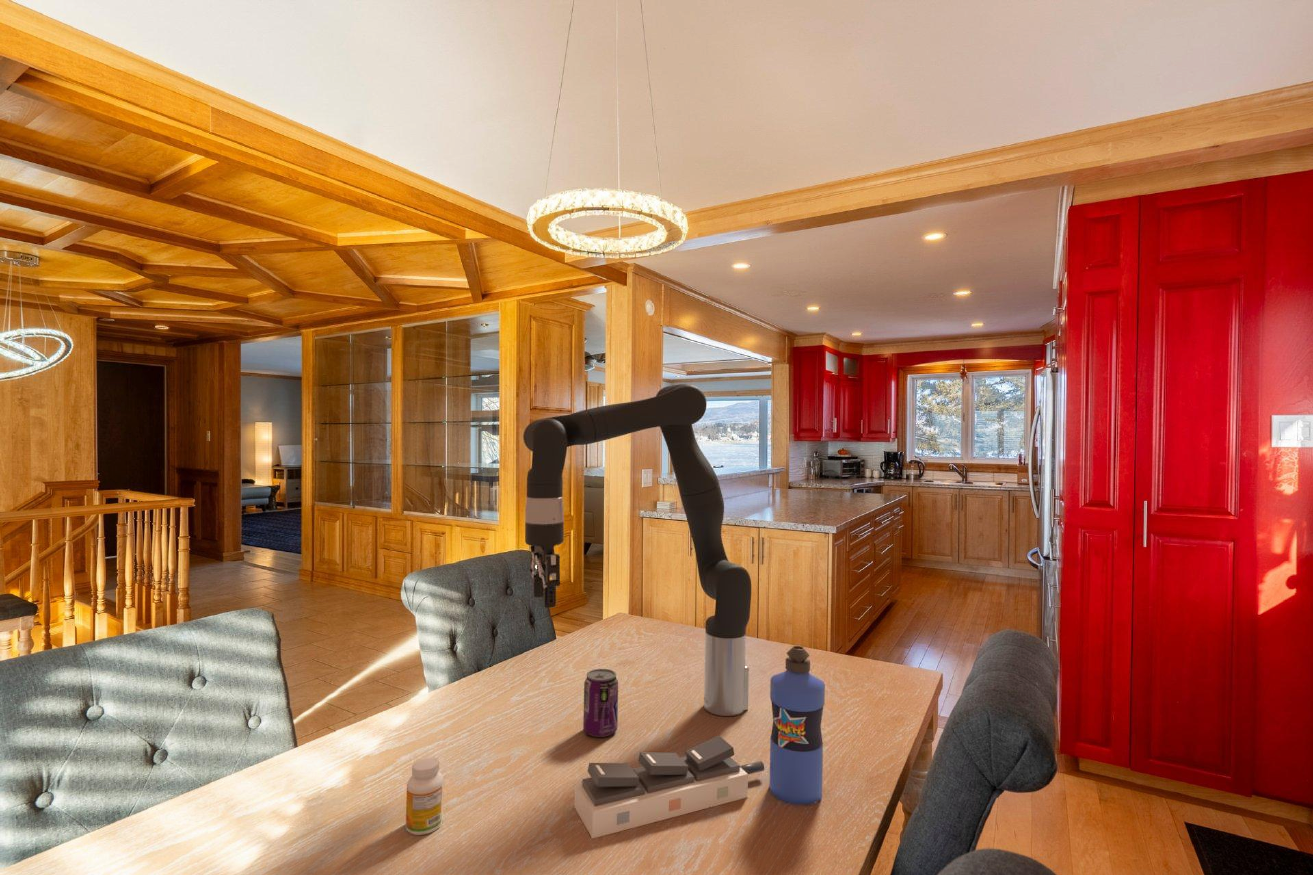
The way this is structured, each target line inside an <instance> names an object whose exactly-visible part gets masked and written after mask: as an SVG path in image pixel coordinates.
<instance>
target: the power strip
mask: <svg viewBox="0 0 1313 875" xmlns="http://www.w3.org/2000/svg"><path fill="white" fill-rule="evenodd" d="M680 758H681V759H682V760H683V761H684V762H685V763H686V764H687V765H688V766H689V767H688V772H687V775H650V774H649V773H648V772H647V771H646V769H645V768H644V767H643V766H642V765H641V766H635V767H632V769H633V770H634V771H635V773H636V774H637V775H638V777H639V781H638V786H604V787H597V785H596V784H595V782H594V781H593V779H592V778H591V777H588V778H587V777H586V778H583V779H582V780H580V781H576V782H574V809H575V810H576V813H577V814H578V815H579V817H580V819H581V821H582V824H583V825H584V827H585V828H586V830H587V832H588V833H589V835H590V837H591V839H597V838H600V837H604V836H608V835H612V834H614V833H619V832H623V831H626V830H630V829H634V828H638V827H641V826H646V825H649V824H653V823H655V822H660V821H664V820H667V819H671V818H675V817H679V816H683V815H686V814H690V813H694V812H698V811H701V810H704V809H705V810H707V809H709V807H710V808H713V807H716V806H720V805H724V804H729V803H731V802H735V801H736V802H737V801H740V800H744V799H748V796H749V795H748V793H749V792H748V791H749V790H748V788H749V786H748V785H749V775H753V774H755V773H756V774H757V773H760V772H763V771H765V765H764V762H763V761H762V760H760V761H756V762H751V763H748V764H744V765H740V764H739V763H738V762H737V761H735V759H733V758H732V757H729V758H727V759H725V760H723V761H721V762H719V763H717V764H715V765H713V766H711V767H708V768H706V769H704V770H702V771H699V770H698V769H697V768H696V767H695V766H694V765H693V764H692V763H691V762H690V761H689V760H688V759H687V758H686V755H685V756H682V757H681V756H680Z"/></svg>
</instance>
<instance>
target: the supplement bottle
mask: <svg viewBox="0 0 1313 875" xmlns="http://www.w3.org/2000/svg"><path fill="white" fill-rule="evenodd" d="M405 804H406V807H405V809H406V810H405V828H406V830H407V832H409V834H411V835H414V836H421V835H427V834H430V833H433V832H435V831H436V830H437V829H439V828H440V827H441V826H442V823H443V817H444V816H443V815H444V814H443V813H444V775H443V774H442V772H440V760H439V759H438V758H437V757H434V756H426V757H422V758H418V759H416V760H415V761H414V762H412V765H411V776H410V777H409V779H408V780H407V783H406V801H405Z"/></svg>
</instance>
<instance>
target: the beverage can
mask: <svg viewBox="0 0 1313 875" xmlns="http://www.w3.org/2000/svg"><path fill="white" fill-rule="evenodd" d="M583 683H584V684H583V686H584V687H583V721H582V722H583V723H582V725H583V726H582V728H583V731H584V733H586V734H587V735H590V736H592V737H595V738H604V737H608V736H610V735H612V734H614V733H616V732H617V731H618V721H619V720H618V715H619V713H618V712H619V681H618V679H617V672H616V671H614V670H612V669H608V668H595V669H592V670H589V671H588V672H586V678H585V680H584V682H583Z"/></svg>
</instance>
